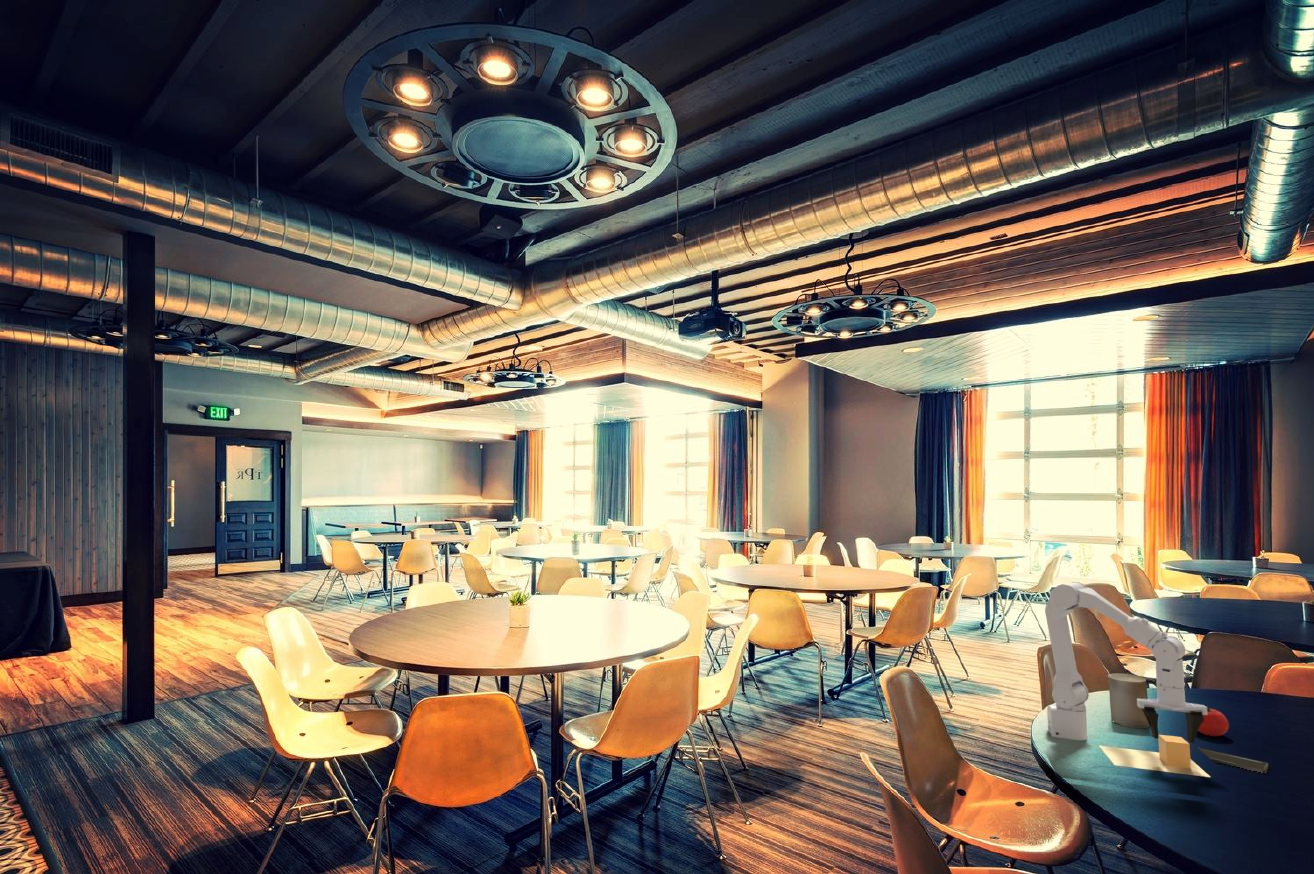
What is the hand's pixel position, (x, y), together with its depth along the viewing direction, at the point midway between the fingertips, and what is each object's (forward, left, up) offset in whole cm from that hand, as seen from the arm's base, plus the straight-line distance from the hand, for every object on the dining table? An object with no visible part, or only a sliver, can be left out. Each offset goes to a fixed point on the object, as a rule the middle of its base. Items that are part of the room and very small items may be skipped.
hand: (1173, 739), depth 170 cm
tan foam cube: (0, 0, -6) cm, 6 cm away
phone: (+15, +10, -8) cm, 20 cm away
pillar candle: (0, +35, -7) cm, 36 cm away
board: (-5, 0, -7) cm, 8 cm away
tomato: (+19, +32, -7) cm, 38 cm away
